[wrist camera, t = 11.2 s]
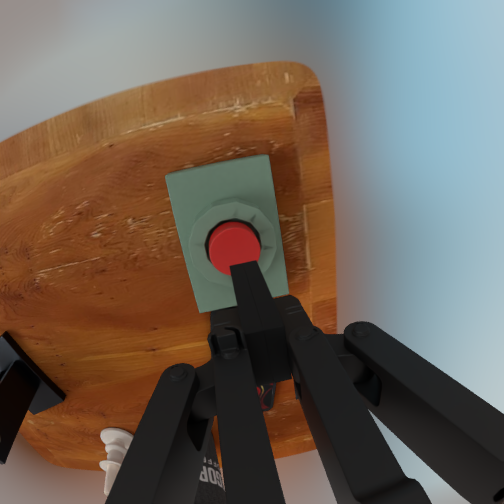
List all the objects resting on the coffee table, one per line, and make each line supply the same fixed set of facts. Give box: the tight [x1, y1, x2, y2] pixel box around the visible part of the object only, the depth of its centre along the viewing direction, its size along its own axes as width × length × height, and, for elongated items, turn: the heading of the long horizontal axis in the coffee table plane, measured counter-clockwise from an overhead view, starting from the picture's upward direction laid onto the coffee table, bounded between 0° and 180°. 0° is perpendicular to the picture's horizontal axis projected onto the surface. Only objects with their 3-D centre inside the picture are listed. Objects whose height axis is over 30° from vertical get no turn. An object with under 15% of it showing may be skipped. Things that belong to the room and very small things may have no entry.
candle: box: [99, 428, 134, 496], centre depth 29 cm, size 5×5×10 cm
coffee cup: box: [193, 433, 227, 504], centre depth 28 cm, size 10×10×15 cm
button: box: [209, 222, 260, 275], centre depth 23 cm, size 4×4×2 cm
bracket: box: [0, 331, 66, 464], centre depth 22 cm, size 11×8×14 cm
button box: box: [165, 154, 289, 313], centre depth 25 cm, size 12×8×4 cm, turn 10°
